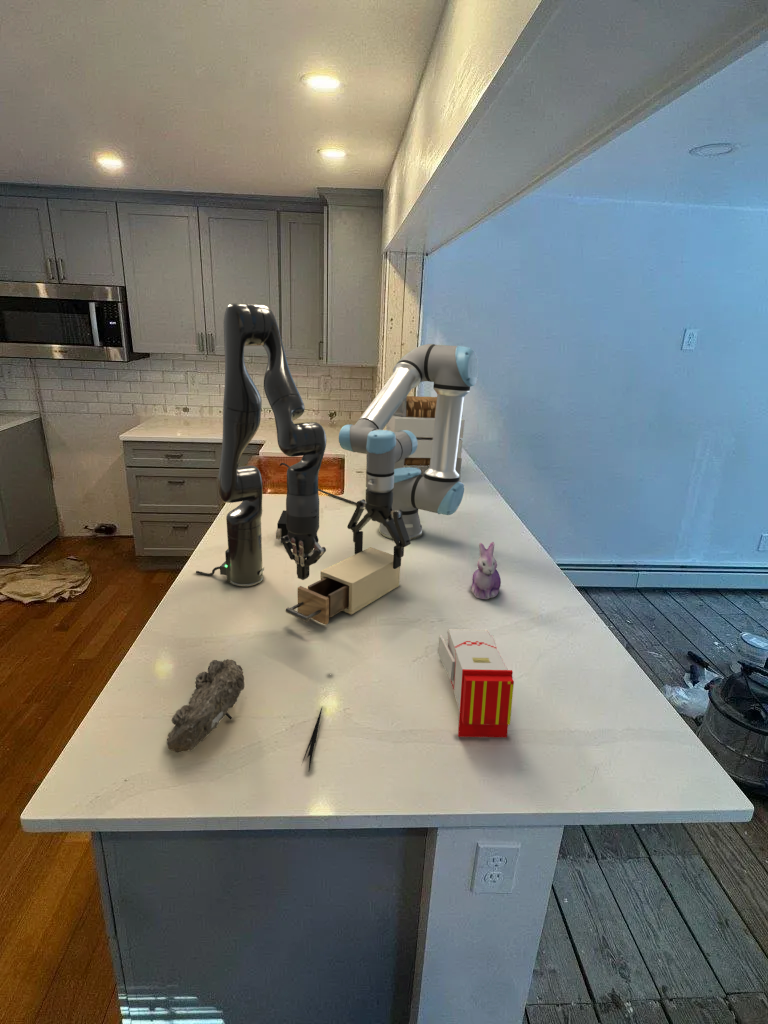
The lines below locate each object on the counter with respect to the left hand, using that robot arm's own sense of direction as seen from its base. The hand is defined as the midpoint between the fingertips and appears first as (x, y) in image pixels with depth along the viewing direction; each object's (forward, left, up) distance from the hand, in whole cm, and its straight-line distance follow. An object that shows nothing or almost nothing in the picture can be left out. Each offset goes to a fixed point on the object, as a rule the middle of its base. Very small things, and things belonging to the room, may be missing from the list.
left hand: (303, 578), depth 135 cm
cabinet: (+10, +20, -13) cm, 26 cm away
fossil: (-7, -35, -13) cm, 38 cm away
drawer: (+5, +9, -12) cm, 16 cm away
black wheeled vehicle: (-22, +53, -13) cm, 59 cm away
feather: (+13, -32, -13) cm, 37 cm away
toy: (+41, -16, -13) cm, 46 cm away
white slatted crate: (+12, +147, -13) cm, 148 cm away
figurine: (+44, +29, -13) cm, 55 cm away
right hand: (+13, +26, -6) cm, 30 cm away
